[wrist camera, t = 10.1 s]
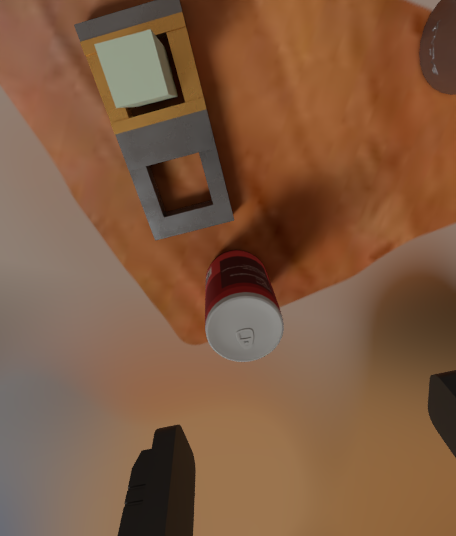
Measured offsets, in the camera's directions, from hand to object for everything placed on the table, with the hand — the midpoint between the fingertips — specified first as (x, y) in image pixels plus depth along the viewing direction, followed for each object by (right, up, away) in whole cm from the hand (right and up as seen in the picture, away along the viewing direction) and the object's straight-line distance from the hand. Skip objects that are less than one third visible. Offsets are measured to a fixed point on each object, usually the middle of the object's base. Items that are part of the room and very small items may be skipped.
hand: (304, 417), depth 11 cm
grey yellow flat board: (-9, +18, +23) cm, 31 cm away
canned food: (-1, +4, +31) cm, 31 cm away
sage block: (-10, +23, +21) cm, 32 cm away
